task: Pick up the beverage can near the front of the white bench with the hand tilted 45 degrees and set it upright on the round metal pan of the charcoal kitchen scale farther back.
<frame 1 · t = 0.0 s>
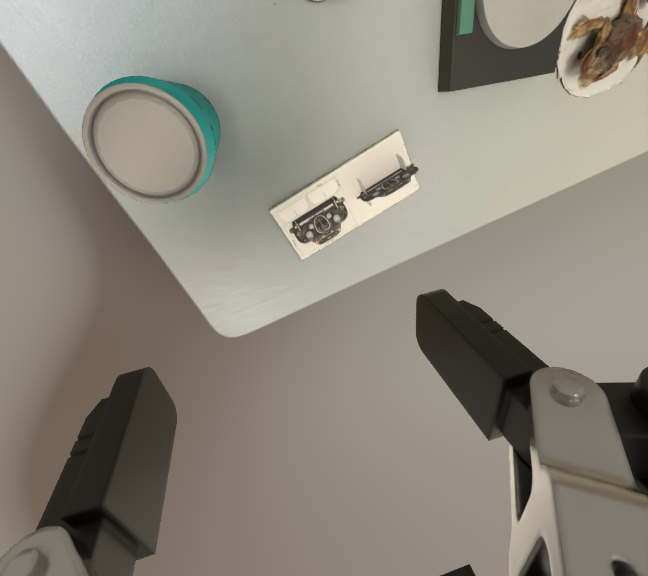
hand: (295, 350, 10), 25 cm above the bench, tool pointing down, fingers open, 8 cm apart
car cutout: (345, 197, 34), on the bench
frog figurine: (604, 33, 32), on the bench
beverage can: (185, 123, 27), on the bench
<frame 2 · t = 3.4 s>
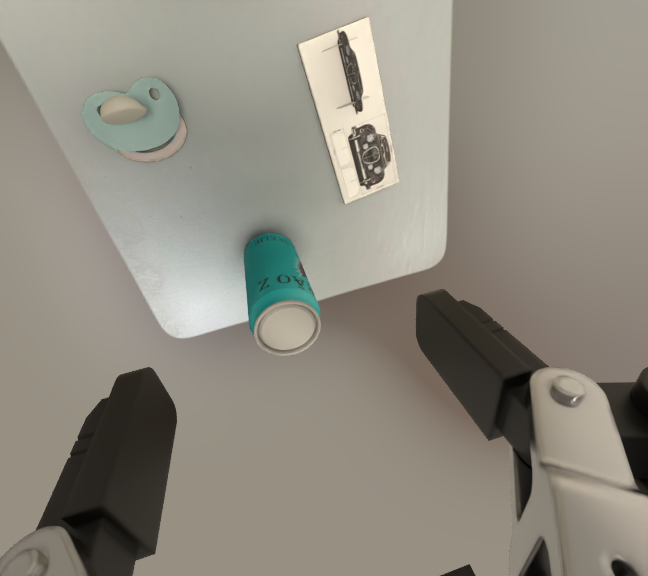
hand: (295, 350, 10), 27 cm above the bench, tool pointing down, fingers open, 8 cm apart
car cutout: (353, 121, 32), on the bench
pacifier: (145, 124, 28), on the bench
beverage can: (268, 250, 37), on the bench
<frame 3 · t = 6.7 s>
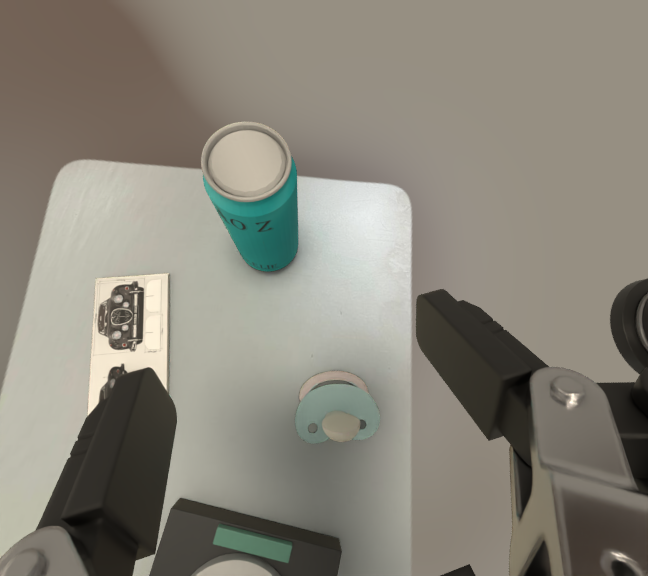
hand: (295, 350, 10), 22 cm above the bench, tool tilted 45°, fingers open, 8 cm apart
car cutout: (132, 355, 30), on the bench
pacifier: (334, 403, 30), on the bench
beverage can: (270, 250, 33), on the bench
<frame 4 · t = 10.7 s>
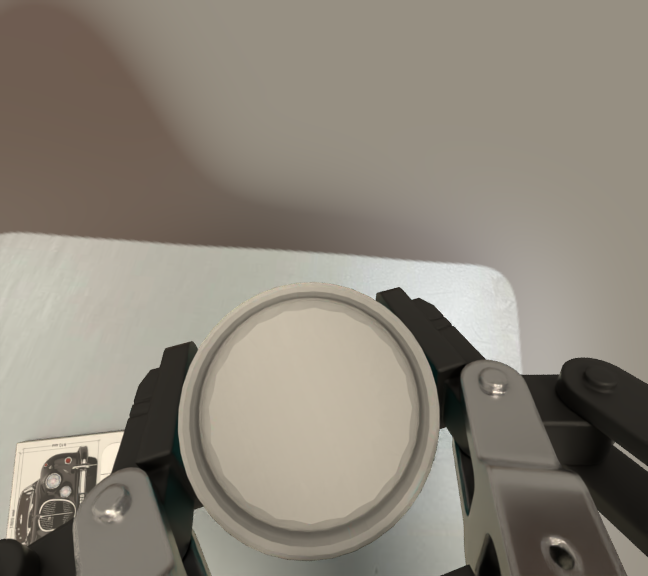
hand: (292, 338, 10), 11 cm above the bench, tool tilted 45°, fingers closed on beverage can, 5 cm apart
beverage can: (303, 378, 21), on the bench, touching gripper
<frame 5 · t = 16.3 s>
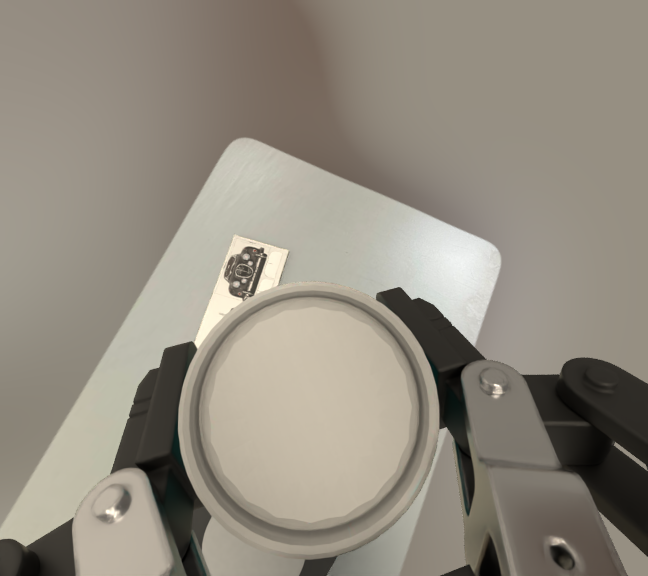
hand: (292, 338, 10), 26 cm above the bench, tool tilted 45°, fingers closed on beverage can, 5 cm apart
car cutout: (241, 304, 37), on the bench
beverage can: (303, 378, 21), point 15 cm above the bench, touching gripper
scale: (264, 521, 32), on the bench
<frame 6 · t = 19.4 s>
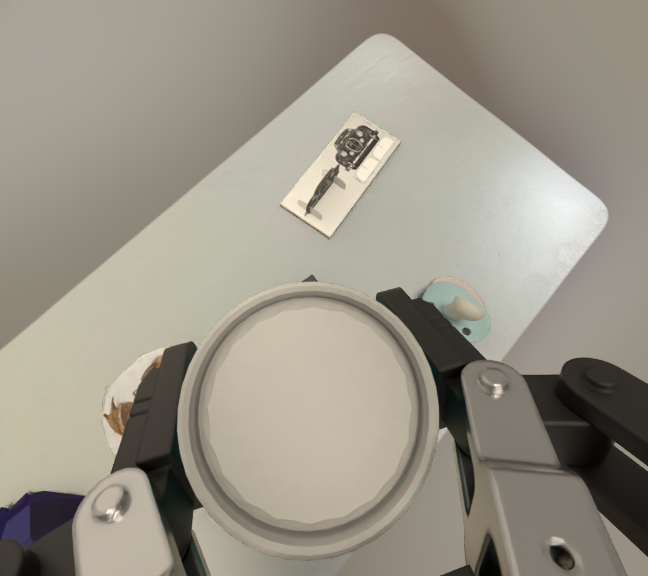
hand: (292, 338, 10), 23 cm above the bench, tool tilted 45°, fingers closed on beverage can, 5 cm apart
car cutout: (342, 174, 37), on the bench
frog figurine: (169, 406, 30), on the bench
pacifier: (450, 307, 35), on the bench
beverage can: (303, 378, 21), point 11 cm above the bench, touching gripper
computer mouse: (79, 556, 27), on the bench
when the fingers open (14 cm above the bench, at t = 22.2 s): beverage can stays where it is, resting on scale.
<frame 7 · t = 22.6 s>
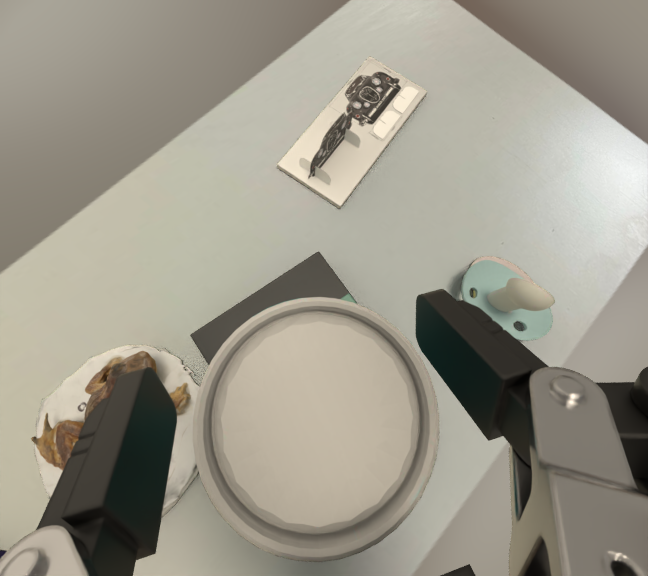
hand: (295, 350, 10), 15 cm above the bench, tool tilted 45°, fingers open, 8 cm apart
car cutout: (354, 131, 30), on the bench
frog figurine: (126, 425, 23), on the bench
pacifier: (495, 296, 27), on the bench
beverage can: (306, 382, 21), point 3 cm above the bench, touching scale
scale: (311, 371, 24), on the bench
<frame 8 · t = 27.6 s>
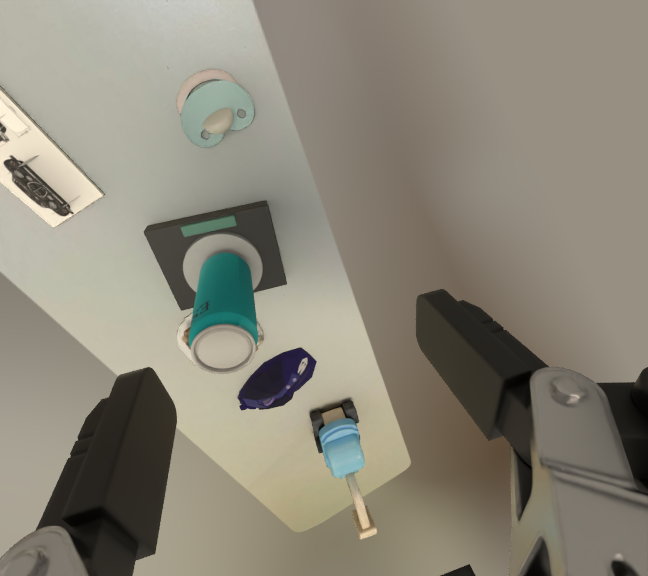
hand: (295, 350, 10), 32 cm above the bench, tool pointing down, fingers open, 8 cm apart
car cutout: (12, 145, 31), on the bench
frog figurine: (218, 337, 47), on the bench
pacifier: (213, 106, 33), on the bench
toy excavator: (333, 426, 65), on the bench
beverage can: (226, 268, 39), point 3 cm above the bench, touching scale
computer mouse: (276, 379, 55), on the bench
scale: (222, 254, 41), on the bench
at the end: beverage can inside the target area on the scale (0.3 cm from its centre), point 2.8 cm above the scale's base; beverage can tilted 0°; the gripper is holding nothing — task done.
